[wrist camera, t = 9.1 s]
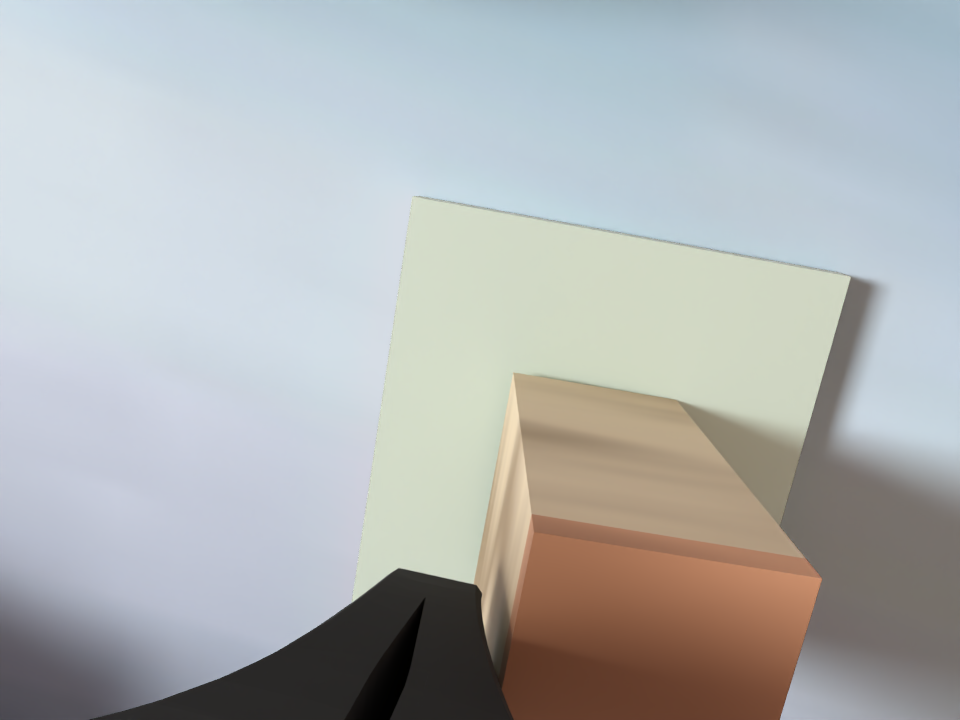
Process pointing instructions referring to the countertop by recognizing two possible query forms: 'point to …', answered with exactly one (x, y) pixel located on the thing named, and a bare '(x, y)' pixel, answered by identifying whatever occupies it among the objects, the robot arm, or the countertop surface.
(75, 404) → the countertop surface
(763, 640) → the beech block
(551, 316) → the sage board
